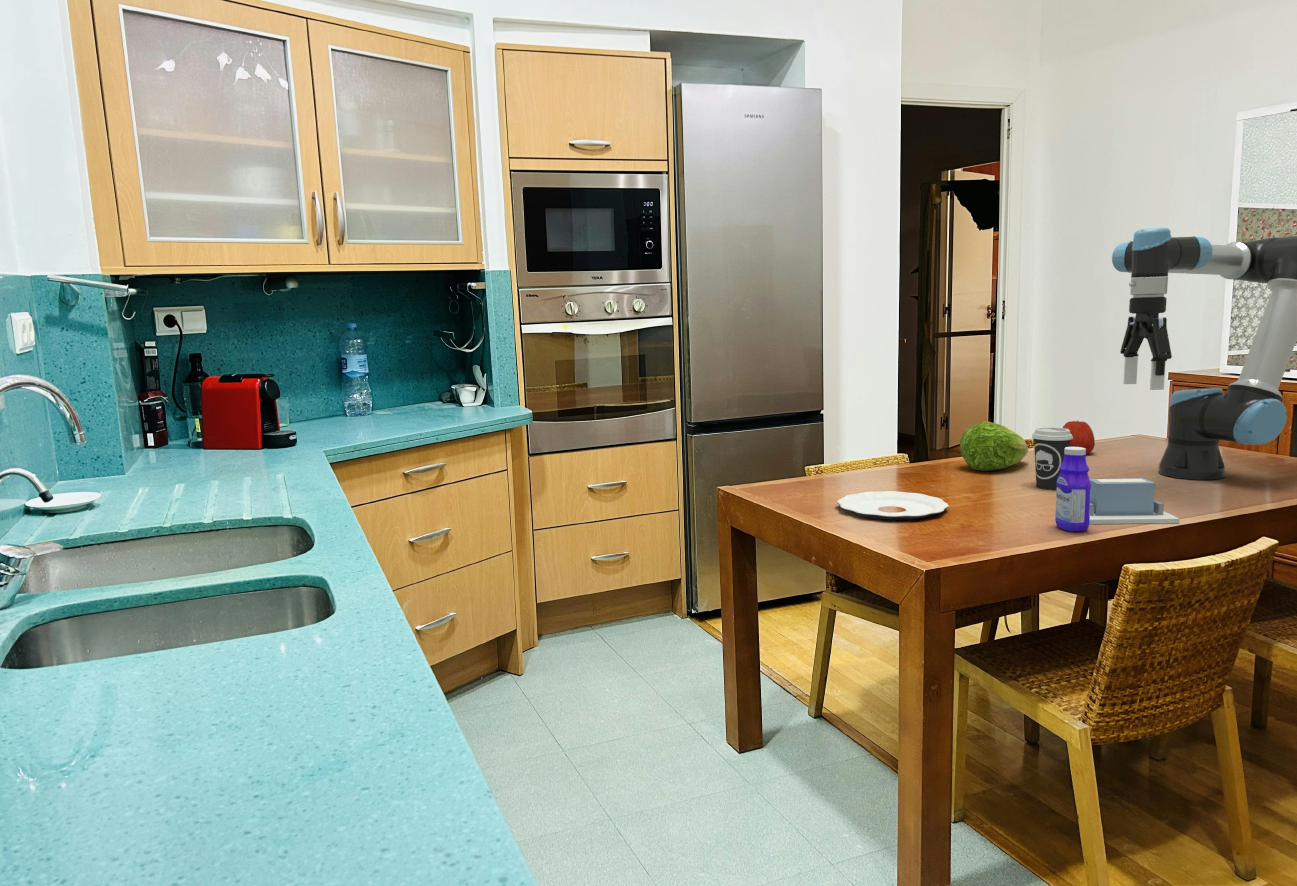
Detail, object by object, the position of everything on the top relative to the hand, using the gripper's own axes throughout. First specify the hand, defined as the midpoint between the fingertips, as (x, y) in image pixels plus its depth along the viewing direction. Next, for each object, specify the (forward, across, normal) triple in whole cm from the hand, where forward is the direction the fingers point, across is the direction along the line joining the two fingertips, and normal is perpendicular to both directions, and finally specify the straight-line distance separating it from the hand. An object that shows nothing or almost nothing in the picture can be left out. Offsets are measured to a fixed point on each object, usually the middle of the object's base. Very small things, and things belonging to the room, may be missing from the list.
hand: (1142, 386), depth 208 cm
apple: (+27, -59, +8) cm, 65 cm away
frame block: (+26, +19, -12) cm, 34 cm away
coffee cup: (+27, -12, -16) cm, 34 cm away
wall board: (+27, +19, -12) cm, 35 cm away
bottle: (+27, +29, -26) cm, 47 cm away
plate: (+27, +10, -60) cm, 67 cm away
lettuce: (+27, -39, -21) cm, 52 cm away
